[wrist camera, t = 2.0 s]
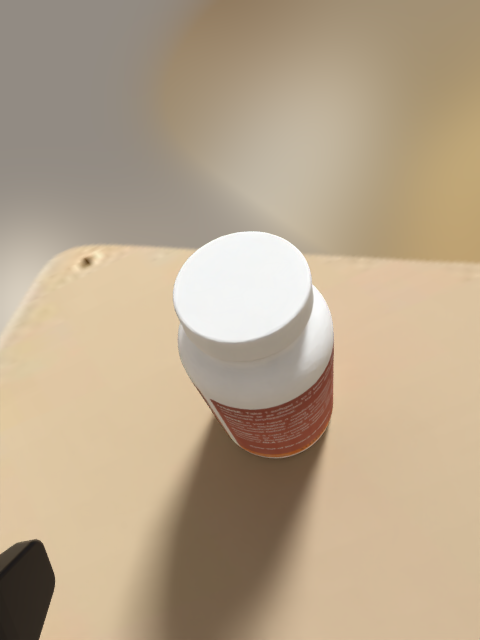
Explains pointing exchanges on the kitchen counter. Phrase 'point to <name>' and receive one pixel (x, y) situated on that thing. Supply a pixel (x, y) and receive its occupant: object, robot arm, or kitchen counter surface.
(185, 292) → the pill bottle
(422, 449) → the kitchen counter surface
